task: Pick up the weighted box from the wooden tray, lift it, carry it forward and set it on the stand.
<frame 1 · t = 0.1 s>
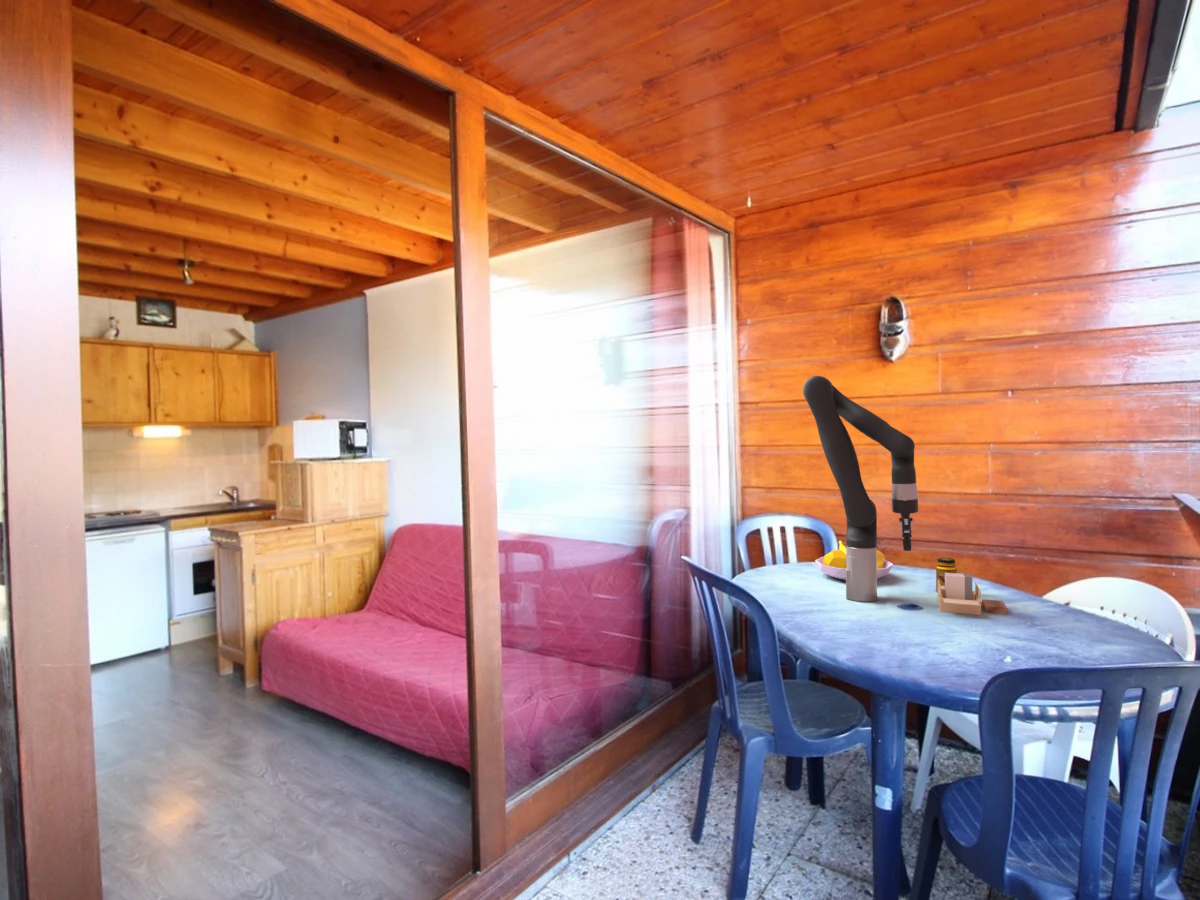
hand: (907, 548, 206), 17 cm above the table, tool pointing down, fingers open, 8 cm apart
wooden tray: (958, 609, 197), on the table
weighted box: (958, 607, 197), point 1 cm above the table, touching wooden tray
fruit bowl: (853, 577, 242), on the table
condiment: (944, 594, 215), on the table
stand: (994, 611, 194), on the table
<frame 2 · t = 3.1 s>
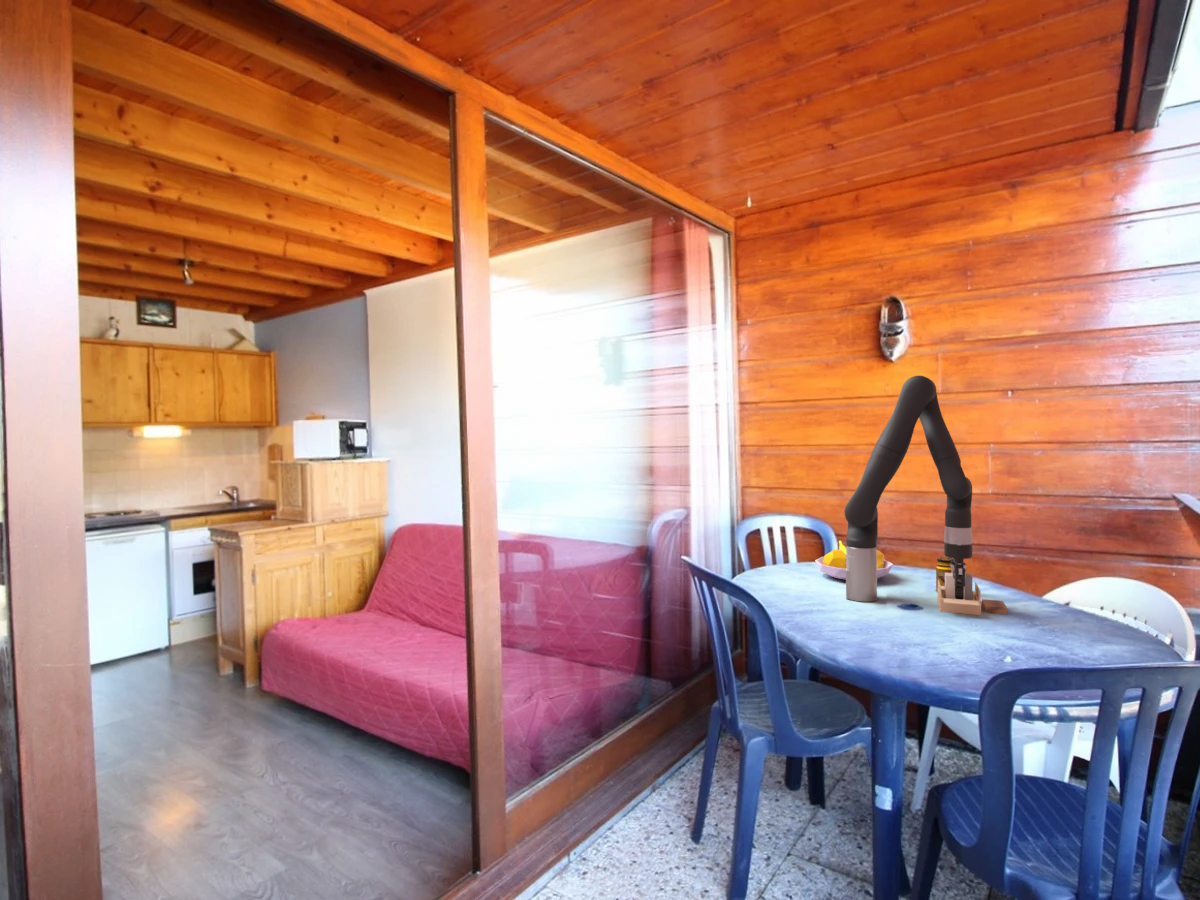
hand: (958, 596, 197), 4 cm above the table, tool pointing down, fingers closed on weighted box, 4 cm apart
weighted box: (958, 607, 197), point 1 cm above the table, touching wooden tray, gripper
everything else where it was.
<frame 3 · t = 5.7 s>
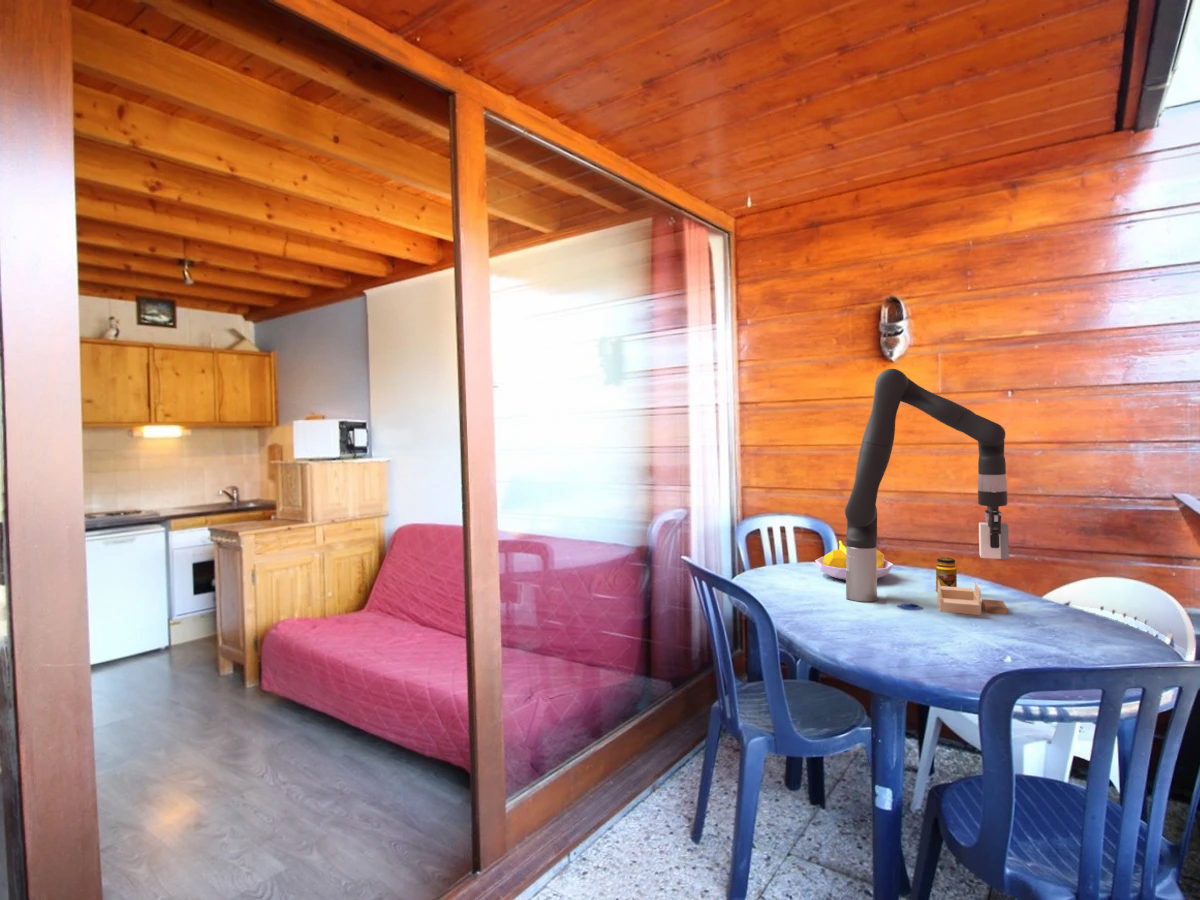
hand: (993, 545, 193), 20 cm above the table, tool pointing down, fingers closed on weighted box, 4 cm apart
weighted box: (993, 557, 193), point 17 cm above the table, touching gripper
everything else where it was.
when the fingers open (7 cm above the table, at t = 8.5 s): weighted box drops 1 cm, resting on stand.
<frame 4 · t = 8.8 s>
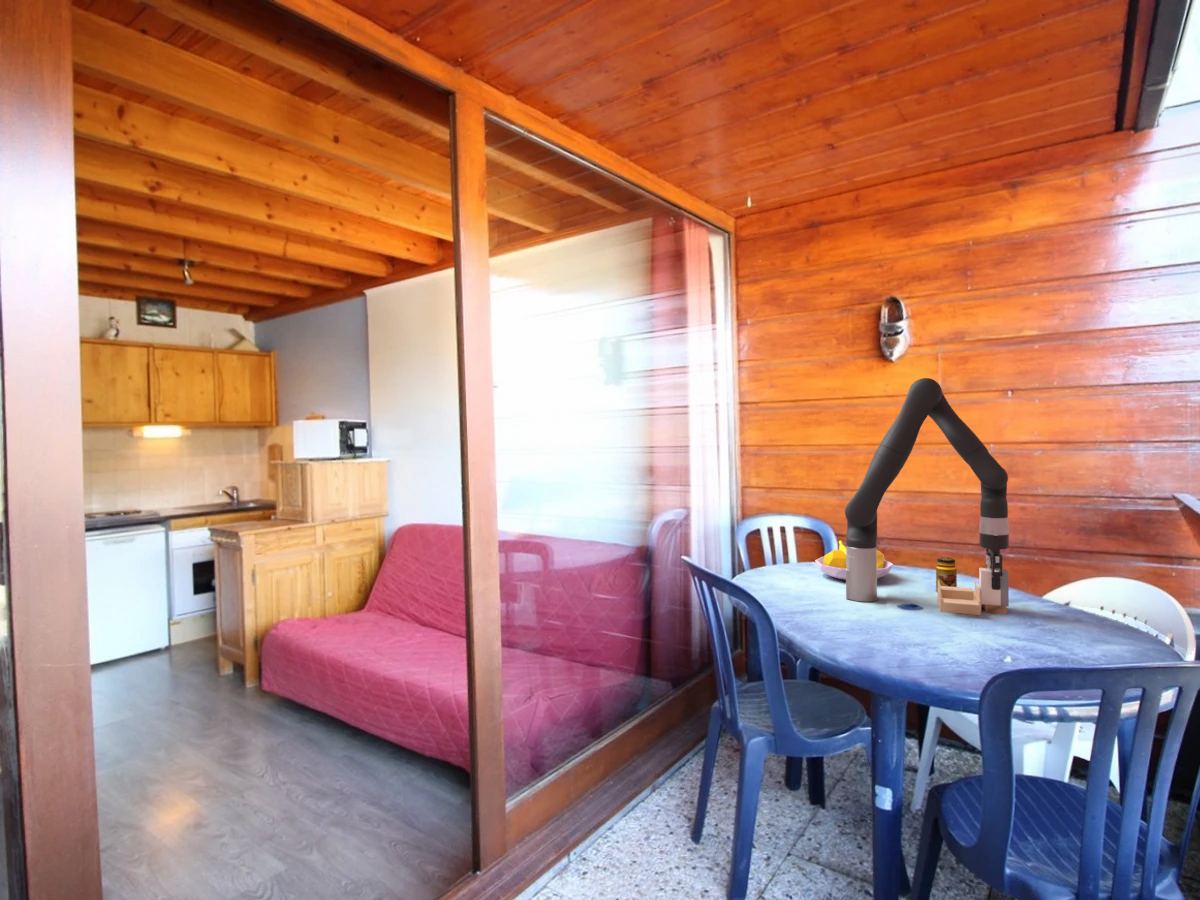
hand: (994, 586, 194), 8 cm above the table, tool pointing down, fingers open, 7 cm apart
weighted box: (993, 603, 194), point 2 cm above the table, touching stand
everything else where it was.
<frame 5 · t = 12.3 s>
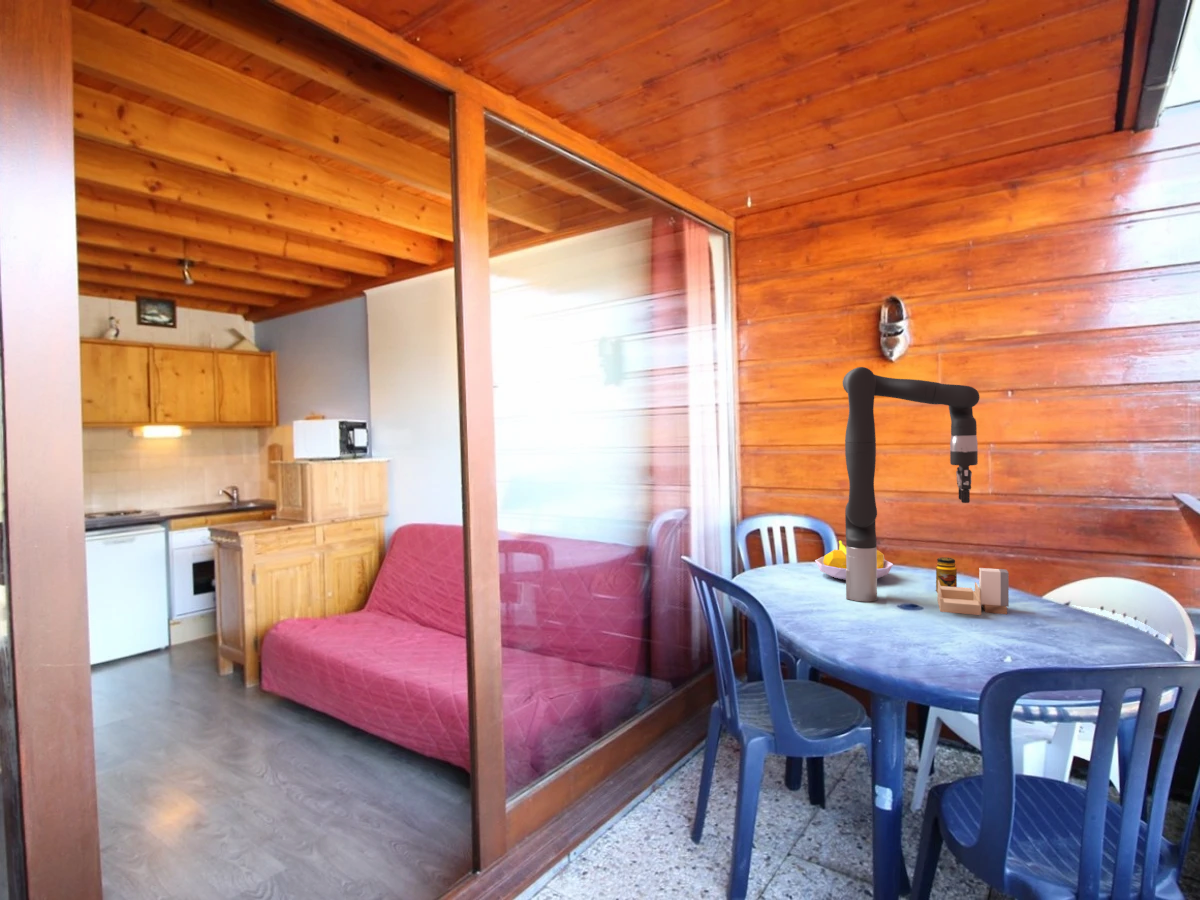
hand: (963, 501, 204), 32 cm above the table, tool pointing down, fingers open, 8 cm apart
nothing on the table moved.
at the end: weighted box inside the target area on the stand (0.1 cm from its centre), point 2.5 cm above the stand's base; weighted box tilted 0°; the gripper is holding nothing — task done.
